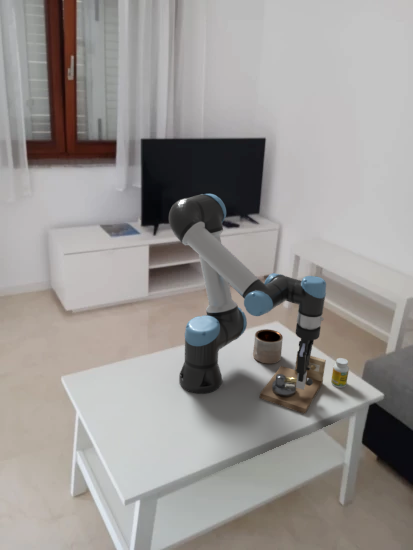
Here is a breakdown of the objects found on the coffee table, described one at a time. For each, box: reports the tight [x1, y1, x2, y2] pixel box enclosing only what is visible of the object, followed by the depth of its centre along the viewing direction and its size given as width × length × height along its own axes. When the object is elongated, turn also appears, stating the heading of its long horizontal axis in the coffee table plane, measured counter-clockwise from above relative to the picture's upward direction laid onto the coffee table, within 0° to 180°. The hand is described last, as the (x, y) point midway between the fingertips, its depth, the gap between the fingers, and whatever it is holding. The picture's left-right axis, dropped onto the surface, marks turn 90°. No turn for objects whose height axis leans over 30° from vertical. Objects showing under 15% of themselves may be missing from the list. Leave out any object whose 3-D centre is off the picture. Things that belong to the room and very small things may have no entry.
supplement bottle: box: [330, 357, 350, 389], centre depth 169 cm, size 5×5×10 cm
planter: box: [252, 328, 284, 365], centre depth 184 cm, size 11×11×10 cm
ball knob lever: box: [272, 374, 313, 397], centre depth 161 cm, size 13×8×6 cm, turn 84°
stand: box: [259, 354, 326, 414], centre depth 164 cm, size 16×20×10 cm
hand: (300, 387), depth 158 cm, fingers closed
